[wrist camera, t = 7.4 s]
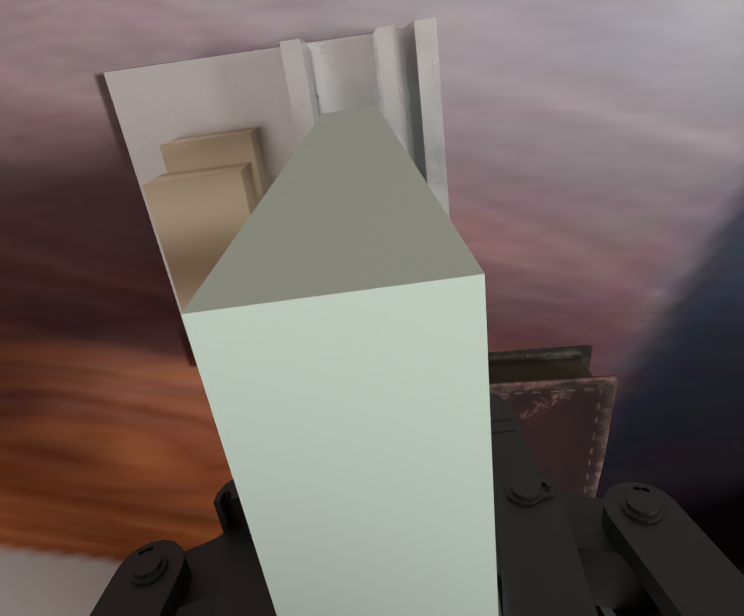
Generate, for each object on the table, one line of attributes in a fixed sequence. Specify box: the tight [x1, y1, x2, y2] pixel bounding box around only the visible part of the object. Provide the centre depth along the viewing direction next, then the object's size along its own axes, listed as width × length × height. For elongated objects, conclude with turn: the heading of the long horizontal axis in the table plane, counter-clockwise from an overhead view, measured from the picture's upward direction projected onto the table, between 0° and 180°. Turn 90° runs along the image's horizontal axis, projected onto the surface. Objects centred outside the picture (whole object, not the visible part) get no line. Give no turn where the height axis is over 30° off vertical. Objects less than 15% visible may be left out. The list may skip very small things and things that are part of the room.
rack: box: [104, 18, 450, 370], centre depth 31 cm, size 20×18×7 cm
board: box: [181, 106, 499, 616], centre depth 16 cm, size 14×2×20 cm, turn 7°
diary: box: [488, 345, 618, 616], centre depth 43 cm, size 19×25×5 cm
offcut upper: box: [142, 162, 260, 312], centre depth 30 cm, size 10×5×3 cm, turn 7°
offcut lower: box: [159, 127, 271, 201], centre depth 32 cm, size 12×5×3 cm, turn 7°
